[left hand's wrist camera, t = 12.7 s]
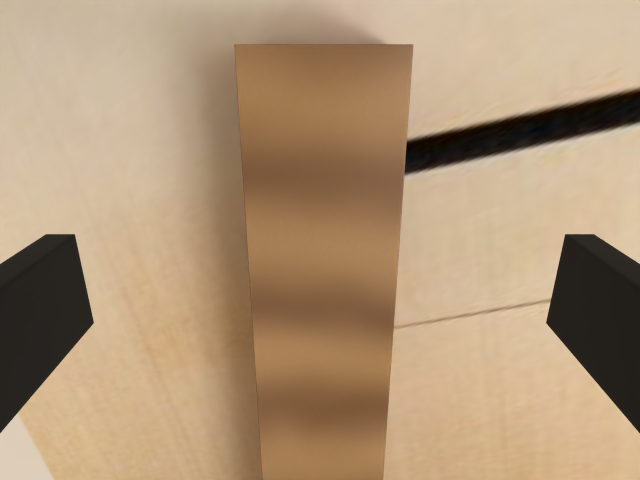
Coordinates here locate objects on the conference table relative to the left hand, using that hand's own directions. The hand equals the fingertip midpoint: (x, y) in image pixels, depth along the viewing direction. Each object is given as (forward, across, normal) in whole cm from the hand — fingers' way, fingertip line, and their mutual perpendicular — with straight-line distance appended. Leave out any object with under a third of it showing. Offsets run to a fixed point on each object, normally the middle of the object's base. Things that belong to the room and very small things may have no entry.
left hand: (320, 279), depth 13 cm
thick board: (+22, 0, -28) cm, 35 cm away
